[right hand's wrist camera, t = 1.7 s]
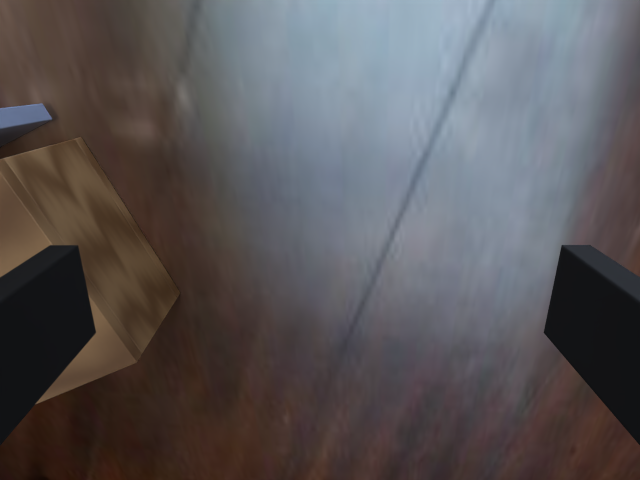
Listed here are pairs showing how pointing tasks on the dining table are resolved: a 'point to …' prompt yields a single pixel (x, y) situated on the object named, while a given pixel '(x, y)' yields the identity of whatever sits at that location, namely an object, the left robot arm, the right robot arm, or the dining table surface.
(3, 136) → the drawer
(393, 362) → the dining table surface
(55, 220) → the tall tan block
